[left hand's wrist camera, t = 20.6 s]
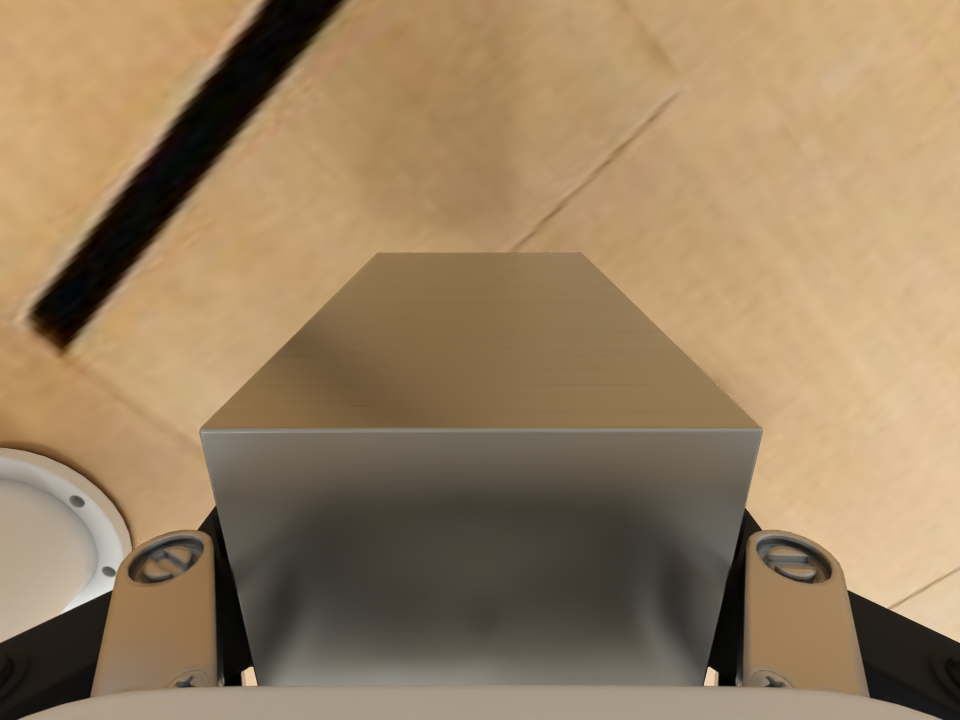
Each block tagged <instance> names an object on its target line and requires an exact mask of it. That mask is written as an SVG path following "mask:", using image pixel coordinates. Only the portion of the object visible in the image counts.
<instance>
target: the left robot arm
mask: <svg viewBox="0 0 960 720" xmlns="http://www.w3.org/2000/svg"><path fill="white" fill-rule="evenodd" d="M249 667H253V663H252V659H251V654H250V650H249V646H248V641H247V637H246V632H245V628H244V624H243V619H242V615H241V611H240V606H239V602H238V598H237V593H236V589H235V585H234V580H233V576H232V572H231V567H230V563H229V559H228V554H227V550H226V546H225V541H224V537H223V533H222V528H221V524H220V520H219V515H218V511H217V507H216V506H215V507H214V509H213V510H212V511H211V513H210V514H209V515H208V517H207V518H206V519H205V521H204V522H203V523H202V525H201V526H200V527H199V529H198V530H179V531H174V532H169V533H166V534H163V535H160V536H157V537H155V538H153V539H151V540H149V541H147V542H145V543H143V544H141V545H140V546H138V547H137V548H136V549H134V550H133V551H132V546H131V541H130V535H129V532H128V530H127V527H126V525H125V523H124V520H123V518H122V517H121V515H120V514H119V512H118V511H117V509H116V508H115V506H114V505H113V503H112V502H111V501H110V500H109V499H108V498H107V497H106V496H105V494H104V493H103V492H102V491H101V490H100V489H99V488H97V487H96V486H95V485H94V484H93V483H91V482H90V481H89V480H88V479H86V478H85V477H84V476H82V475H81V474H79V473H77V472H76V471H74V470H72V469H71V468H69V467H67V466H66V465H63V464H61V463H59V462H57V461H54V460H52V459H50V458H47V457H45V456H41V455H38V454H34V453H31V452H27V451H23V450H16V449H9V448H0V720H960V643H959V642H957V641H954V640H952V639H950V638H948V637H946V636H944V635H942V634H940V633H937V632H935V631H933V630H931V629H929V628H927V627H925V626H923V625H921V624H918V623H916V622H914V621H912V620H910V619H908V618H906V617H904V616H902V615H899V614H897V613H895V612H893V611H891V610H889V609H887V608H885V607H882V606H880V605H878V604H876V603H874V602H872V601H870V600H868V599H866V598H863V597H861V596H859V595H857V594H855V593H853V592H851V591H849V590H847V587H846V582H845V577H844V573H843V570H842V568H841V566H840V564H839V562H838V561H837V560H836V559H835V558H834V556H833V555H832V554H831V553H830V552H828V551H827V550H826V549H824V548H823V547H822V546H820V545H819V544H817V543H815V542H813V541H811V540H809V539H807V538H805V537H803V536H800V535H797V534H794V533H791V532H786V531H781V530H763V531H762V529H761V528H760V527H759V525H758V524H757V523H756V521H755V520H754V519H753V517H752V516H751V515H750V513H749V512H748V511H747V509H746V508H745V510H744V514H743V518H742V523H741V527H740V531H739V535H738V540H737V544H736V548H735V553H734V557H733V561H732V565H731V570H730V574H729V578H728V583H727V587H726V591H725V595H724V600H723V604H722V608H721V613H720V617H719V621H718V626H717V630H716V634H715V638H714V643H713V647H712V651H711V656H710V660H709V664H708V667H711V668H713V669H714V670H716V673H715V683H714V686H623V685H337V686H246V683H245V673H244V670H246V669H247V668H249Z"/></svg>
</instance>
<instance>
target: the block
mask: <svg viewBox="0 0 960 720" xmlns="http://www.w3.org/2000/svg"><path fill="white" fill-rule="evenodd" d="M199 433H200V437H201V442H202V446H203V450H204V455H205V459H206V463H207V468H208V472H209V476H210V481H211V485H212V489H213V494H214V498H215V502H216V507H217V511H218V515H219V520H220V524H221V528H222V533H223V537H224V541H225V546H226V550H227V554H228V559H229V563H230V567H231V572H232V576H233V580H234V585H235V589H236V593H237V598H238V602H239V606H240V611H241V615H242V619H243V624H244V628H245V632H246V637H247V641H248V646H249V650H250V654H251V659H252V663H253V667H254V672H255V676H256V680H257V685H258V686H337V685H623V686H704V681H705V677H706V673H707V668H708V664H709V660H710V656H711V651H712V647H713V643H714V638H715V634H716V630H717V626H718V621H719V617H720V613H721V608H722V604H723V600H724V595H725V591H726V587H727V583H728V578H729V574H730V570H731V565H732V561H733V557H734V553H735V548H736V544H737V540H738V535H739V531H740V527H741V523H742V518H743V514H744V510H745V505H746V501H747V497H748V493H749V488H750V484H751V480H752V475H753V471H754V467H755V462H756V458H757V454H758V450H759V445H760V441H761V437H762V428H761V427H760V426H759V425H758V424H757V423H756V422H755V421H754V420H753V419H752V418H751V417H750V416H749V415H748V414H747V413H746V412H745V411H744V410H743V409H742V408H741V407H740V406H739V405H738V404H737V403H736V402H735V401H734V400H732V399H731V398H730V397H729V396H728V395H727V394H726V393H725V392H724V391H723V390H722V389H721V388H720V387H719V386H718V385H717V384H716V383H715V382H714V381H713V380H712V379H711V378H710V377H709V376H708V375H707V374H706V373H705V372H704V371H703V370H702V369H701V368H700V367H699V366H698V365H697V364H695V363H694V362H693V361H692V360H691V359H690V358H689V357H688V356H687V355H686V354H685V353H684V352H683V351H682V350H681V349H680V348H679V347H678V346H677V345H676V344H675V343H674V342H673V341H672V340H671V339H670V338H669V337H668V336H667V335H666V334H665V333H664V332H663V331H662V330H661V329H660V328H658V327H657V326H656V325H655V324H654V323H653V322H652V321H651V320H650V319H649V318H648V317H647V316H646V315H645V314H644V313H643V312H642V311H641V310H640V309H639V308H638V307H637V306H636V305H635V304H634V303H633V302H632V301H631V300H630V299H629V298H628V297H627V296H626V295H625V294H624V293H623V292H621V291H620V290H619V289H618V288H617V287H616V286H615V285H614V284H613V283H612V282H611V281H610V280H609V279H608V278H607V277H606V276H605V275H604V274H603V273H602V272H601V271H600V270H599V269H598V268H597V267H596V266H595V265H594V264H593V263H592V262H591V261H590V260H589V259H588V258H587V257H586V256H584V255H583V254H582V253H377V254H376V255H375V256H374V257H373V258H372V259H371V260H370V261H369V262H368V263H367V264H366V265H365V266H364V267H363V268H361V269H360V270H359V271H358V272H357V273H356V274H355V275H354V276H353V277H352V278H351V279H350V280H349V281H348V282H347V283H346V284H345V285H344V286H343V287H342V288H341V289H340V290H339V291H338V292H337V293H336V294H335V295H334V296H333V297H332V298H331V299H330V300H329V301H328V302H327V303H326V304H325V305H324V306H323V307H322V308H321V309H320V310H319V311H318V312H317V313H316V314H315V315H314V316H313V317H312V318H311V319H310V320H309V321H308V322H307V323H306V324H305V325H304V326H303V327H302V328H301V329H300V330H299V331H298V332H297V333H296V334H295V335H294V336H293V337H292V338H291V339H290V340H289V341H288V342H287V343H286V344H285V345H284V346H283V347H282V348H281V349H280V350H279V351H278V352H277V353H276V354H275V355H274V356H273V357H272V358H271V359H270V360H269V361H268V362H267V363H266V364H265V365H264V366H263V367H262V368H261V369H260V370H259V371H258V372H257V373H256V374H255V375H254V376H253V377H252V378H251V379H250V380H249V381H248V382H247V383H246V384H245V385H244V386H243V387H242V388H241V389H240V390H239V391H238V392H237V393H236V394H234V395H233V396H232V397H231V398H230V399H229V400H228V401H227V402H226V403H225V404H224V405H223V406H222V407H221V408H220V409H219V410H218V411H217V412H216V413H215V414H214V415H213V416H212V417H211V418H210V419H209V420H208V421H207V422H206V423H205V424H204V425H203V426H202V427H201V428H200V432H199Z"/></svg>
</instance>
